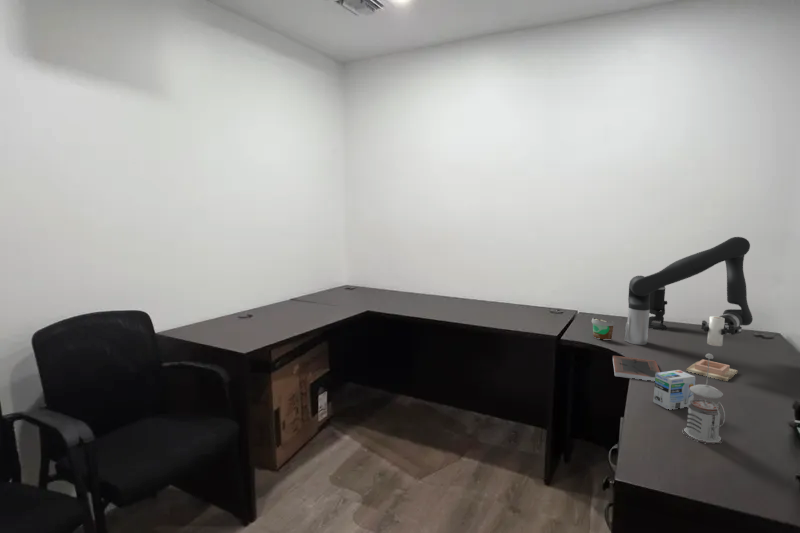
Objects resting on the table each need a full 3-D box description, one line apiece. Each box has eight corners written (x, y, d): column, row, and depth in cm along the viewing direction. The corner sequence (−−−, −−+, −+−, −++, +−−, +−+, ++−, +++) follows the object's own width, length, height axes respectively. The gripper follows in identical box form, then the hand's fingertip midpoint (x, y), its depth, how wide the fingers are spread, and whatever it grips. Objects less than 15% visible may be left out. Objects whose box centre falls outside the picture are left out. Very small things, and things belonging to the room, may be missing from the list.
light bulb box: (668, 410, 146) (671, 379, 145) (652, 402, 152) (654, 372, 151) (693, 406, 149) (696, 376, 148) (676, 398, 155) (679, 369, 154)
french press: (706, 427, 135) (713, 348, 132) (736, 447, 124) (745, 361, 120) (674, 427, 135) (681, 348, 132) (701, 448, 123) (710, 362, 120)
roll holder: (686, 371, 181) (686, 363, 180) (697, 363, 190) (698, 356, 189) (727, 381, 170) (727, 373, 170) (737, 373, 179) (738, 365, 179)
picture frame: (662, 384, 170) (655, 365, 189) (662, 377, 169) (655, 360, 189) (614, 377, 176) (612, 360, 196) (614, 371, 176) (613, 355, 196)
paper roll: (705, 344, 179) (707, 317, 177) (709, 341, 182) (711, 315, 181) (720, 346, 175) (722, 319, 174) (723, 344, 178) (726, 317, 177)
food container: (585, 336, 231) (586, 317, 230) (593, 334, 233) (594, 316, 232) (605, 342, 220) (606, 323, 218) (613, 341, 222) (614, 321, 221)
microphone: (661, 324, 254) (665, 272, 250) (671, 330, 242) (676, 276, 238) (637, 323, 256) (641, 272, 252) (647, 329, 244) (651, 275, 240)
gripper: (707, 311, 192) (694, 318, 181) (748, 318, 181) (736, 325, 170) (705, 328, 193) (692, 336, 182) (746, 335, 182) (734, 344, 171)
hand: (714, 330), depth 176 cm, fingers closed on paper roll, 5 cm apart
